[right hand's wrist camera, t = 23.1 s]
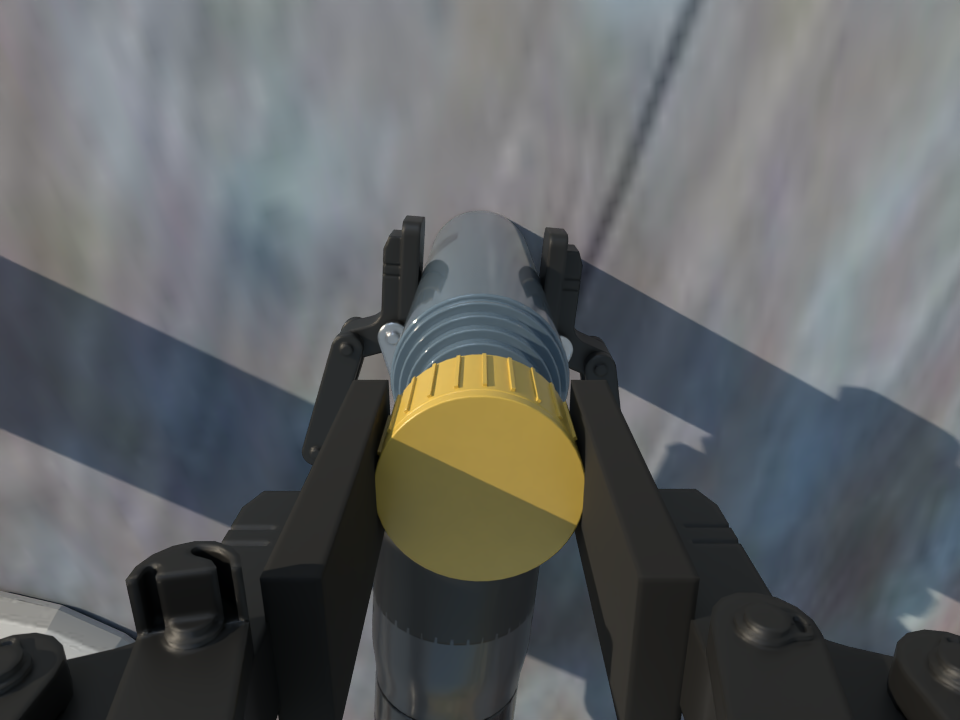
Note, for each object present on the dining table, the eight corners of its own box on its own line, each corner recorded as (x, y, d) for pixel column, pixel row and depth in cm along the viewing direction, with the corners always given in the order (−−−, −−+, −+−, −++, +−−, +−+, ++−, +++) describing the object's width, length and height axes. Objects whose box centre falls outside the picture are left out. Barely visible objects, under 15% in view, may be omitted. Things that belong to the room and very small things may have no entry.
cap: (576, 513, 15) (592, 576, 13) (398, 526, 15) (385, 591, 13) (569, 343, 14) (585, 384, 12) (373, 359, 14) (355, 402, 12)
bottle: (545, 281, 33) (638, 517, 14) (459, 324, 34) (431, 605, 14) (502, 192, 31) (536, 317, 12) (412, 239, 32) (312, 426, 13)
